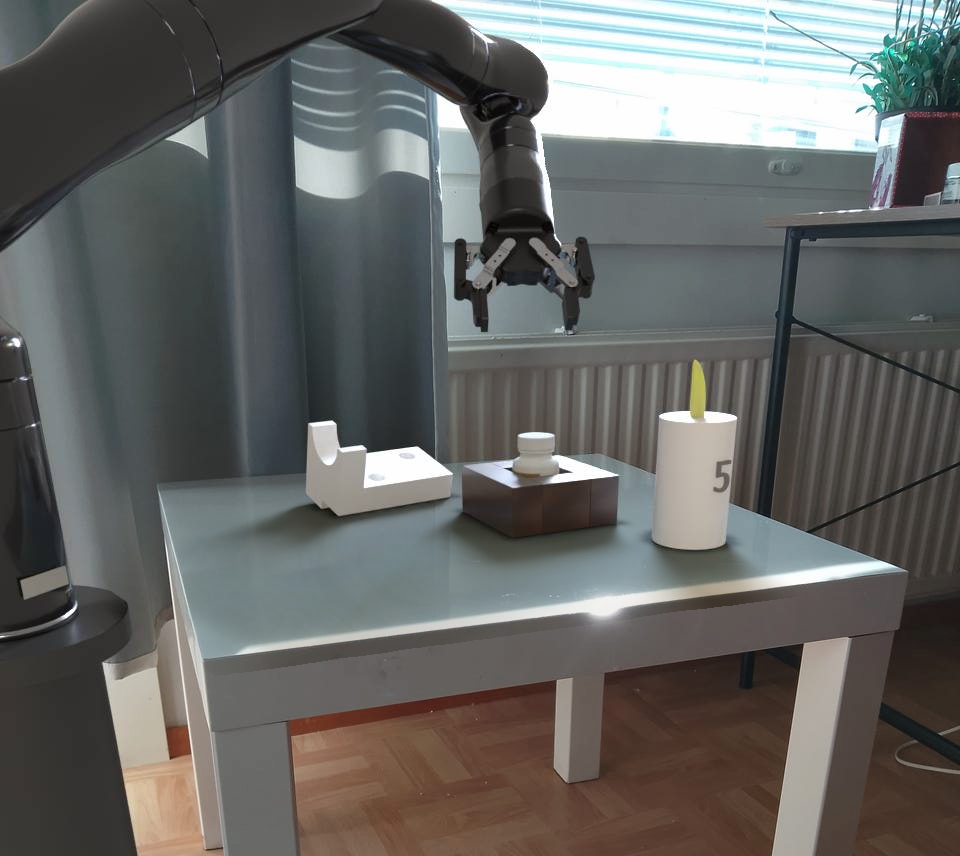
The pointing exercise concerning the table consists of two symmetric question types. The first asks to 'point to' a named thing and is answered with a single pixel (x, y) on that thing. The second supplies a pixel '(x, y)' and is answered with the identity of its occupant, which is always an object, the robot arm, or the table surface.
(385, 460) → the bracket
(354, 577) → the table surface
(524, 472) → the pill bottle
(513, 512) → the socket
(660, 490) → the candle
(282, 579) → the table surface
